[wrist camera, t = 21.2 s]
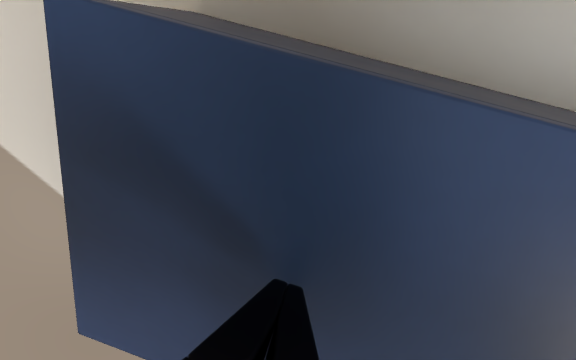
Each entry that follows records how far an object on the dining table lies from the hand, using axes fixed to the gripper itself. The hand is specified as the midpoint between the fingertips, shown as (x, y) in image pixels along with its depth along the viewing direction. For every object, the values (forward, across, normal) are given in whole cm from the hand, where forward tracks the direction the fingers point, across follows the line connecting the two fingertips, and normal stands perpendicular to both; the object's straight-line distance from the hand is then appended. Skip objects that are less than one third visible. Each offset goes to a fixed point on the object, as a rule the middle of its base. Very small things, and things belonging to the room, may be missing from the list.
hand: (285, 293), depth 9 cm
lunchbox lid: (+1, -3, 0) cm, 3 cm away
